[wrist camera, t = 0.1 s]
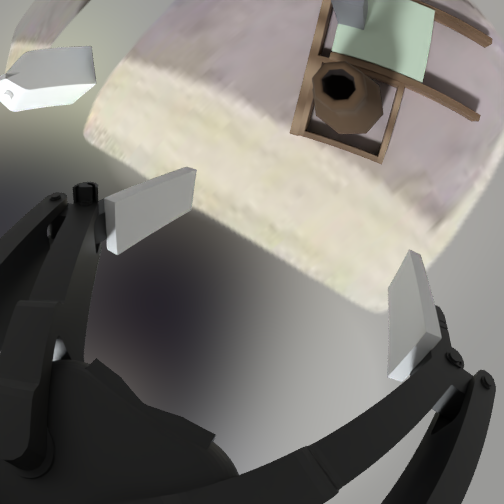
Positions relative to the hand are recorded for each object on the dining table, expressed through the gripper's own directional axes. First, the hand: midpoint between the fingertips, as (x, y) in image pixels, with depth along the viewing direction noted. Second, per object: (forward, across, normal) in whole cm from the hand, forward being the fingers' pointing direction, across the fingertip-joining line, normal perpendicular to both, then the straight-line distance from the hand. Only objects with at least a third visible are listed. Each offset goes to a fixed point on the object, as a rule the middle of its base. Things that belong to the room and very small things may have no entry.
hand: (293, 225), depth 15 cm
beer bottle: (+28, 0, +8) cm, 29 cm away
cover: (+25, +2, +22) cm, 33 cm away
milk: (+28, -63, +8) cm, 70 cm away
